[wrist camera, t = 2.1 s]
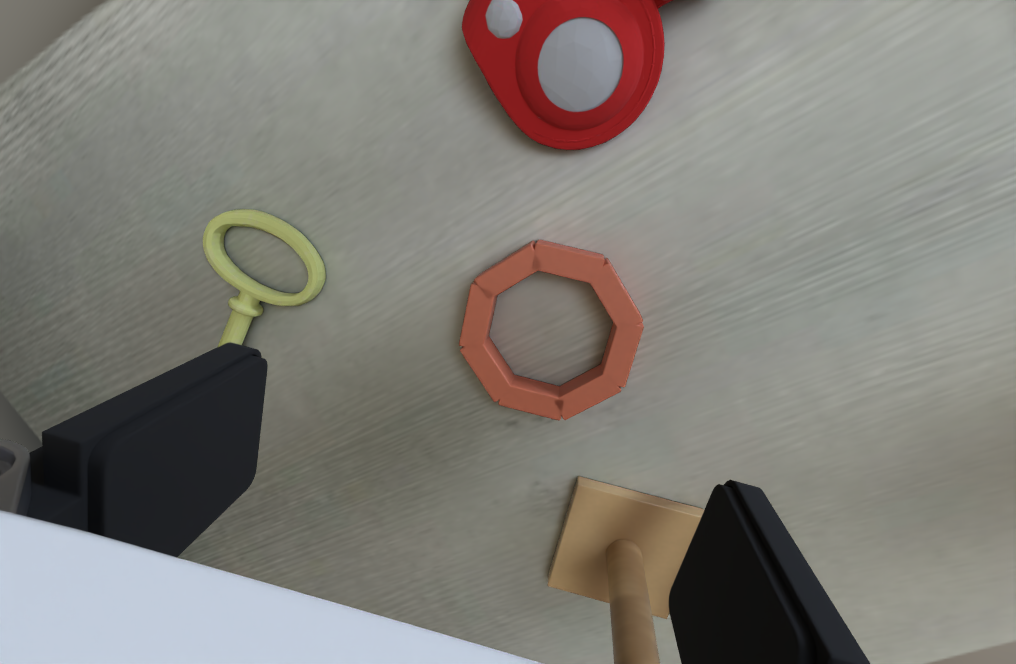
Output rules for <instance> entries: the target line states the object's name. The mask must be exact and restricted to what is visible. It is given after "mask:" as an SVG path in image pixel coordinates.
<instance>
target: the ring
mask: <svg viewBox="0 0 1016 664" xmlns="http://www.w3.org/2000/svg"><path fill="white" fill-rule="evenodd" d="M536 271H542V272H546V273H550V274H554V275H558V276H563V277H567V278H571V279H575V280H579V281H583V282H587V283H590V284H591V286H592V288H593V289H594V291H595V293H596V294H597V296H598V298H599V299H600V301H601V303H602V304H603V306H604V308H605V309H606V311H607V313H608V314H609V316H610V318H611V319H612V321H613V325H612V328H611V332H610V335H609V339H608V342H607V345H606V349H605V352H604V356H603V359H602V362H601V364H600V365H598V366H596V367H595V368H593V369H591V370H589V371H587V372H585V373H583V374H581V375H580V376H578V377H576V378H574V379H572V380H570V381H568V382H566V383H565V384H563V385H561V386H556V385H552V384H548V383H545V382H541V381H537V380H533V379H529V378H525V377H521V376H517V375H514V374H513V372H512V371H511V369H510V368H509V366H508V365H507V363H506V362H505V360H504V359H503V357H502V355H501V354H500V352H499V351H498V349H497V348H496V346H495V345H494V343H493V342H492V340H491V339H490V337H489V332H490V328H491V323H492V319H493V314H494V310H495V305H496V300H497V296H498V294H500V293H502V292H503V291H505V290H507V289H508V288H510V287H512V286H513V285H515V284H517V283H518V282H520V281H521V280H523V279H525V278H526V277H528V276H530V275H531V274H533V273H535V272H536ZM642 322H643V319H642V317H641V315H640V312H639V311H638V309H637V307H636V305H635V304H634V302H633V300H632V299H631V297H630V295H629V294H628V292H627V290H626V288H625V287H624V285H623V283H622V282H621V280H620V278H619V277H618V275H617V273H616V271H615V270H614V268H613V266H612V265H611V263H610V261H609V260H608V258H606V259H604V256H603V254H598V253H594V252H590V251H586V250H582V249H577V248H573V247H569V246H565V245H560V244H556V243H552V242H548V241H544V240H538V241H537V243H535V241H531V242H530V243H528V244H527V245H525V246H523V247H522V248H520V249H519V250H517V251H515V252H514V253H512V254H511V255H509V256H507V257H506V258H504V259H503V260H501V261H499V262H498V263H496V264H495V265H493V266H491V267H490V268H488V269H487V270H485V271H483V272H482V273H480V274H479V275H478V276H477V277H476V278H475V279H474V282H473V283H472V284H471V286H470V291H469V296H468V301H467V306H466V311H465V316H464V321H463V326H462V331H461V336H460V341H459V346H462V348H461V349H460V352H461V353H462V355H463V356H464V358H465V359H466V361H467V362H468V364H469V365H470V367H471V368H472V370H473V371H474V373H475V374H476V376H477V377H478V378H479V380H480V381H481V383H482V384H483V386H484V387H485V389H486V390H487V392H488V393H489V395H490V396H491V398H492V399H493V401H494V402H496V401H498V400H499V403H498V404H499V405H501V406H505V407H509V408H513V409H516V410H520V411H524V412H528V413H532V414H536V415H540V416H544V417H547V418H551V419H555V420H560V419H561V416H562V417H563V419H564V420H566V419H568V418H570V417H572V416H574V415H576V414H578V413H580V412H582V411H584V410H586V409H588V408H590V407H592V406H594V405H596V404H598V403H600V402H602V401H603V400H605V399H607V398H609V397H611V396H613V395H615V394H617V393H619V392H621V387H625V385H626V382H627V379H628V376H629V372H630V369H631V366H632V363H633V360H634V356H635V353H636V350H637V347H638V344H639V341H640V337H641V334H642V331H643V328H644V326H643V324H642Z"/></svg>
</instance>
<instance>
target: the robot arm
mask: <svg viewBox="0 0 1016 664" xmlns="http://www.w3.org/2000/svg"><path fill="white" fill-rule="evenodd" d="M266 376H267V361H266V360H265V359H263V358H261V353H260V352H259V350H257V349H253V348H250V347H246V346H242V345H239V344H235V343H232V342H229V343H226V344H224V345H221V346H219V347H217V348H215V349H213V350H211V351H209V352H207V353H205V354H203V355H201V356H199V357H197V358H194V359H192V360H190V361H188V362H186V363H184V364H182V365H180V366H178V367H176V368H174V369H172V370H170V371H168V372H165V373H163V374H161V375H159V376H157V377H155V378H153V379H151V380H149V381H147V382H145V383H143V384H141V385H139V386H136V387H134V388H132V389H130V390H128V391H126V392H124V393H122V394H120V395H118V396H116V397H114V398H112V399H109V400H107V401H105V402H103V403H101V404H99V405H97V406H95V407H93V408H91V409H89V410H87V411H85V412H83V413H80V414H78V415H76V416H74V417H72V418H70V419H68V420H66V421H64V422H62V423H60V424H58V425H56V426H53V427H51V428H49V429H47V430H45V431H43V432H42V444H43V446H42V447H40V448H38V449H36V450H35V451H32V452H30V453H29V451H28V450H27V449H26V448H25V447H24V446H23V445H22V444H19V443H16V442H13V441H11V440H6V439H0V664H543V663H540V662H536V661H533V660H530V659H526V658H523V657H519V656H516V655H513V654H509V653H506V652H502V651H499V650H496V649H492V648H489V647H485V646H482V645H479V644H475V643H472V642H468V641H465V640H462V639H458V638H455V637H451V636H448V635H444V634H441V633H438V632H434V631H431V630H427V629H424V628H421V627H417V626H414V625H410V624H407V623H403V622H400V621H396V620H393V619H390V618H386V617H383V616H379V615H376V614H372V613H369V612H365V611H362V610H358V609H355V608H351V607H348V606H345V605H341V604H338V603H334V602H331V601H327V600H324V599H320V598H317V597H313V596H310V595H306V594H303V593H299V592H296V591H293V590H289V589H286V588H282V587H279V586H275V585H272V584H268V583H265V582H262V581H258V580H255V579H251V578H248V577H244V576H241V575H237V574H234V573H230V572H226V571H223V570H219V569H216V568H212V567H209V566H205V565H202V564H198V563H195V562H191V561H188V560H184V559H181V558H177V557H178V556H179V555H180V554H181V553H182V552H183V551H184V550H185V549H186V548H187V547H188V546H189V545H190V544H191V543H192V542H193V541H194V540H195V539H196V538H197V537H198V536H199V535H200V534H201V533H202V532H204V531H205V530H206V529H207V528H208V527H209V526H210V525H211V524H212V523H213V522H214V521H215V520H216V519H217V518H218V517H219V516H220V515H221V514H222V513H223V512H224V511H225V510H226V509H227V508H228V507H229V506H230V505H231V504H232V503H233V502H234V501H236V500H237V499H238V498H239V497H240V496H241V495H242V494H243V493H244V492H245V491H246V490H247V489H248V488H249V486H250V485H251V483H252V481H253V479H254V477H255V473H256V467H257V458H258V449H259V440H260V431H261V422H262V413H263V404H264V394H265V385H266ZM669 612H670V616H671V620H672V624H673V629H674V633H675V637H676V642H677V646H678V650H679V654H680V659H681V663H682V664H870V662H869V661H868V659H867V658H866V656H865V654H864V653H863V651H862V650H861V648H860V646H859V645H858V643H857V642H856V640H855V638H854V637H853V635H852V634H851V632H850V630H849V629H848V627H847V626H846V624H845V622H844V621H843V619H842V617H841V616H840V614H839V613H838V611H837V609H836V608H835V606H834V605H833V603H832V601H831V600H830V598H829V597H828V595H827V593H826V592H825V590H824V589H823V587H822V585H821V584H820V582H819V581H818V579H817V577H816V576H815V574H814V573H813V571H812V569H811V568H810V566H809V565H808V563H807V561H806V560H805V558H804V556H803V555H802V553H801V552H800V550H799V548H798V547H797V545H796V544H795V542H794V540H793V539H792V537H791V536H790V534H789V532H788V531H787V529H786V528H785V526H784V524H783V523H782V521H781V520H780V518H779V516H778V515H777V513H776V512H775V510H774V508H773V507H772V505H771V504H770V502H769V500H768V499H767V497H766V495H765V494H764V492H763V491H762V490H761V489H760V488H758V487H755V486H751V485H747V484H744V483H740V482H736V481H733V480H729V481H727V482H726V483H725V484H724V485H720V484H718V485H716V487H715V488H714V489H713V491H712V494H711V496H710V498H709V501H708V503H707V505H706V508H705V510H704V512H703V515H702V517H701V519H700V522H699V524H698V526H697V529H696V531H695V533H694V536H693V538H692V540H691V543H690V545H689V547H688V550H687V552H686V554H685V557H684V559H683V561H682V564H681V566H680V568H679V571H678V573H677V575H676V578H675V580H674V582H673V585H672V587H671V590H670V594H669Z"/></svg>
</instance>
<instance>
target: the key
mask: <svg viewBox="0 0 1016 664" xmlns="http://www.w3.org/2000/svg"><path fill="white" fill-rule="evenodd" d="M231 226H247V227H253V228H257V229H260V230H263V231H266V232H268V233H270V234H272V235H274V236H276V237H278V238H280V239H281V240H283V241H284V242H286V243H287V244H288V245H290V246H291V247H292V248H293V249H294V250H295V251H296V252H297V253H298V255H299V256H300V257H301V259H302V260H303V261H304V263H305V265H306V267H307V270H308V277H309V279H308V284H307V285H306V287H305V288H304V289H303V291H302V292H299V293H283V292H279V291H276V290H274V289H271V288H269V287H266V286H264V285H262V284H260V283H258V282H257V281H255V280H253V279H252V278H250V277H249V276H247V275H246V274H245V273H243V272H242V271H241V270H240V269H239V268H238V267H237V266H235V265H234V263H233V262H232V261H231V259H230V258H229V257H228V256H227V254H226V251H225V248H224V236H225V233H226V231H227V229H229V228H230V227H231ZM203 248H204V252H205V255H206V257H207V260H208V261H209V263H210V264H211V265H212V267H213V268H214V270H215V271H216V272H217V273H218V274H219V275H220V276H221V277H222V278H223V279H224V280H225V281H227V282H228V283H230V284H231V285H232V286H234V287H235V288H237V289H238V290H240V293H239V295H238V296H234V297H231V298H230V299H229V301H228V305H229V306H230V307H231V309H232V313H231V315H230V318H229V320H228V322H227V325H226V327H225V330H224V332H223V335H222V337H221V340H220V342H219V345H218V347H219V346H221V345H224V344H226V343H229V342H232V343H235V344H239V345H242V343H243V341H244V338H245V336H246V333H247V331H248V329H249V326H250V324H251V321H252V319H253V317H256V316H260V315H261V314H262V313H263V307H262V306H261V305H260V304H259V302H260V300H261V301H264V302H266V303H269V304H275V305H280V306H299V305H302V304H305V303H307V302H309V301H310V300H312V299H313V298H314V297H315V296H316V295H317V294H318V293H319V292H320V291H321V289H322V287H323V285H324V282H325V279H326V271H325V267H324V263H323V261H322V259H321V257H320V255H319V254H318V252H317V251H316V249H315V248H314V247H313V245H312V244H311V243H310V242H309V241H308V240H307V238H306V237H305V236H303V235H302V234H301V233H300V232H299V231H298V230H296V229H295V228H294V227H292V226H291V225H289V224H288V223H286V222H284V221H283V220H281V219H279V218H277V217H274V216H272V215H270V214H267V213H264V212H261V211H257V210H249V209H238V210H231V211H227V212H225V213H222V214H220V215H218V216H216V217H215V218H213V219H212V220H211V221H210V222H209V223H208V225H207V227H206V229H205V232H204V236H203Z"/></svg>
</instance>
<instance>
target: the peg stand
mask: <svg viewBox="0 0 1016 664" xmlns="http://www.w3.org/2000/svg"><path fill="white" fill-rule="evenodd" d="M703 512H704V509H701V508H697V507H693V506H690V505H686V504H682V503H678V502H675V501H671V500H667V499H663V498H659V497H656V496H652V495H648V494H644V493H641V492H637V491H633V490H629V489H625V488H622V487H618V486H614V485H610V484H606V483H603V482H599V481H595V480H591V479H588V478H584V477H580V476H578V478H577V481H576V485H575V488H574V491H573V495H572V498H571V501H570V505H569V508H568V511H567V515H566V518H565V521H564V525H563V528H562V531H561V535H560V538H559V541H558V544H557V548H556V551H555V554H554V558H553V561H552V564H551V568H550V571H549V574H548V586H550V587H553V588H557V589H560V590H564V591H567V592H571V593H575V594H578V595H582V596H585V597H589V598H593V599H596V600H600V601H603V602H607V603H610V613H611V626H612V640H613V654H614V664H660V659H659V653H658V648H657V642H656V636H655V630H654V624H653V618H652V615H654V616H657V617H661V618H665V619H667V617H668V615H669V594H670V590H671V587H672V585H673V582H674V580H675V578H676V575H677V573H678V571H679V568H680V566H681V564H682V561H683V559H684V557H685V554H686V552H687V550H688V547H689V545H690V543H691V540H692V538H693V536H694V533H695V531H696V529H697V526H698V524H699V522H700V519H701V517H702V515H703Z"/></svg>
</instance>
